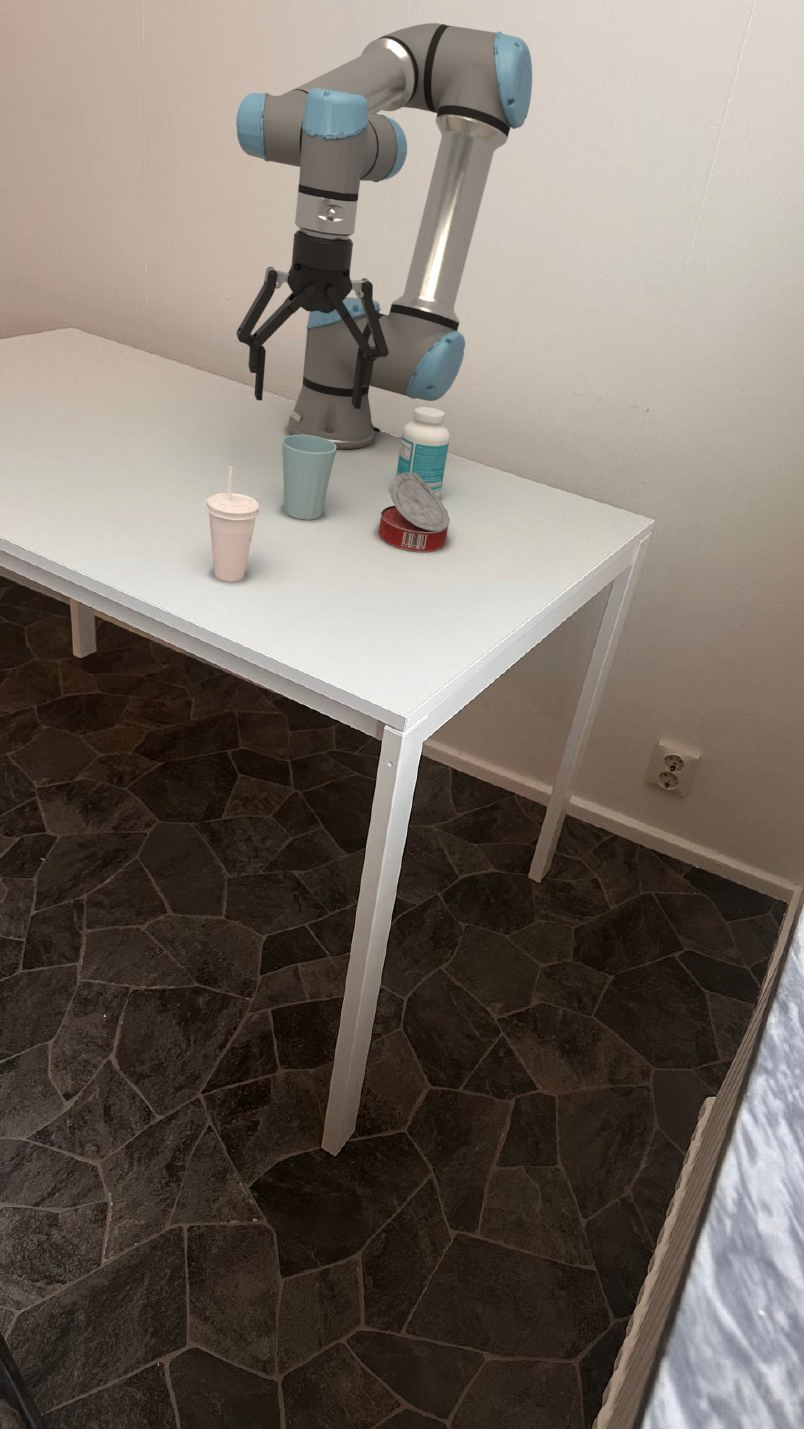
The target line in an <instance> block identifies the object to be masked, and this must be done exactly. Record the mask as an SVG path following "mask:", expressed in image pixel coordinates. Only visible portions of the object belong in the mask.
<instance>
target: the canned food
mask: <svg viewBox="0 0 804 1429" xmlns="http://www.w3.org/2000/svg"><path fill="white" fill-rule="evenodd" d="M390 491H391V493H390V497H391V499H392V502H393V504H394V505H390V506H387V507H385V508H384V509H382V510H381V512H380V519H379V525H378V526H379V527H378V532H377V534H378V536H379V538H380V539H381V540H382V541H383V542H384V543H385V544H388V545H389V546H392V547H394V548H397V549H400V550H404V551H408V552H415V553H426V552H427V553H429V552H435V551H440V550H441V549H443V547H445V545H446V540H447V535H448V530H449V526H450V520H451V519H450V516H449V513H448V510H447V509H446V507H445V505H444V504H443V502H442V500H441V499H440V497H439V498H438V497H437V496H436V494H435V493H434V492H433V490H432V489H431V488H430V487H429V486H428V485H427V484H426V482H425V481H424V480H423V479H422V478H421V477H420V476H418V475H417V474H416V473H409V472H407V471H406V472H404V473H401V474H399V475H397V477H396V476H395V478H394V480H393V482H392V484H391V488H390Z"/></svg>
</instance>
